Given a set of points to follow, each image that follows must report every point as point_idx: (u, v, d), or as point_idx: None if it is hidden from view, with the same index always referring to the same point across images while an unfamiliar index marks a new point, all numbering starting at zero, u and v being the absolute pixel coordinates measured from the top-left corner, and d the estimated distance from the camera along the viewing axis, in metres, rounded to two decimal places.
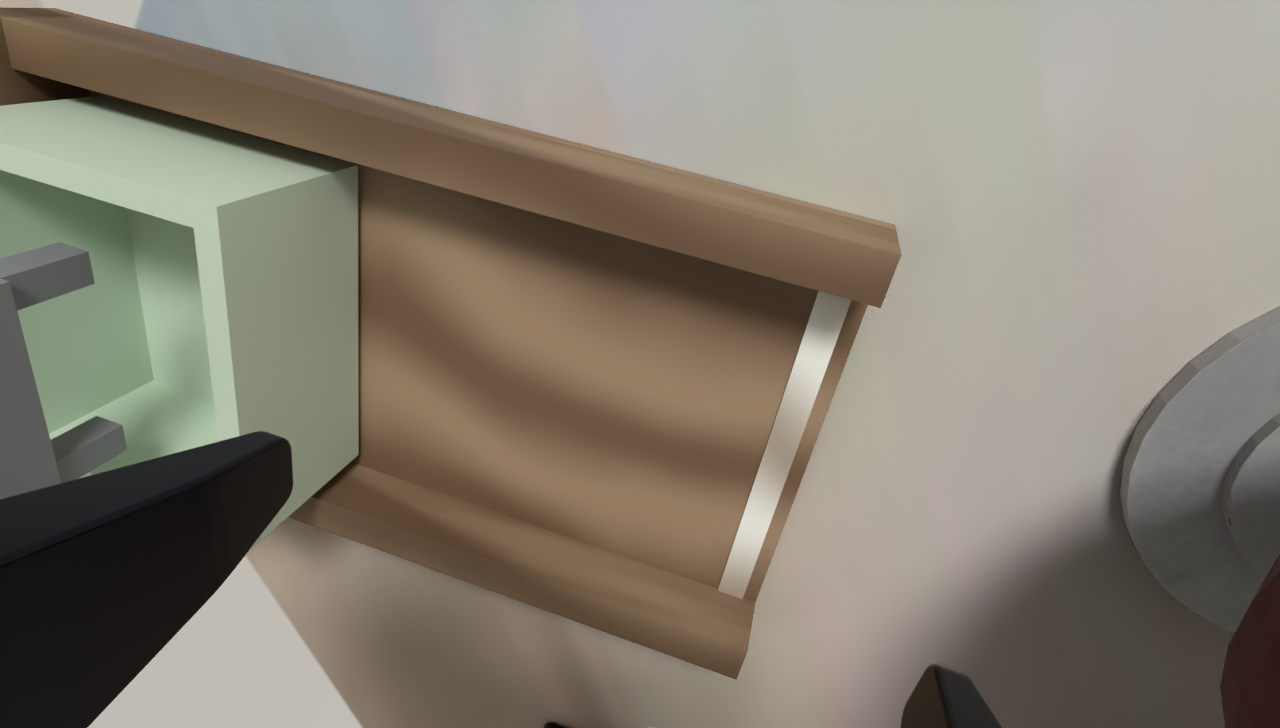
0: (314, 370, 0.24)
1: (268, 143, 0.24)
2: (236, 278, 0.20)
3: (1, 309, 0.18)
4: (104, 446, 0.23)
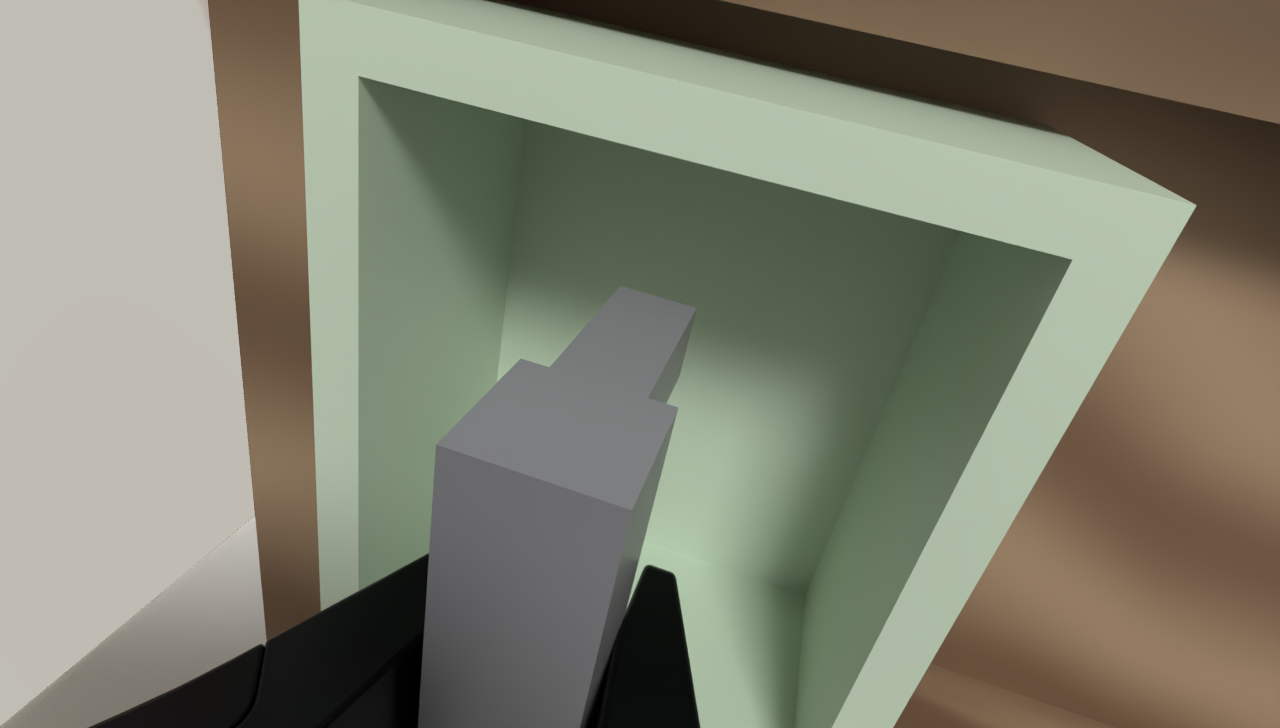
0: None
1: (867, 84, 0.12)
2: None
3: (655, 483, 0.07)
4: None
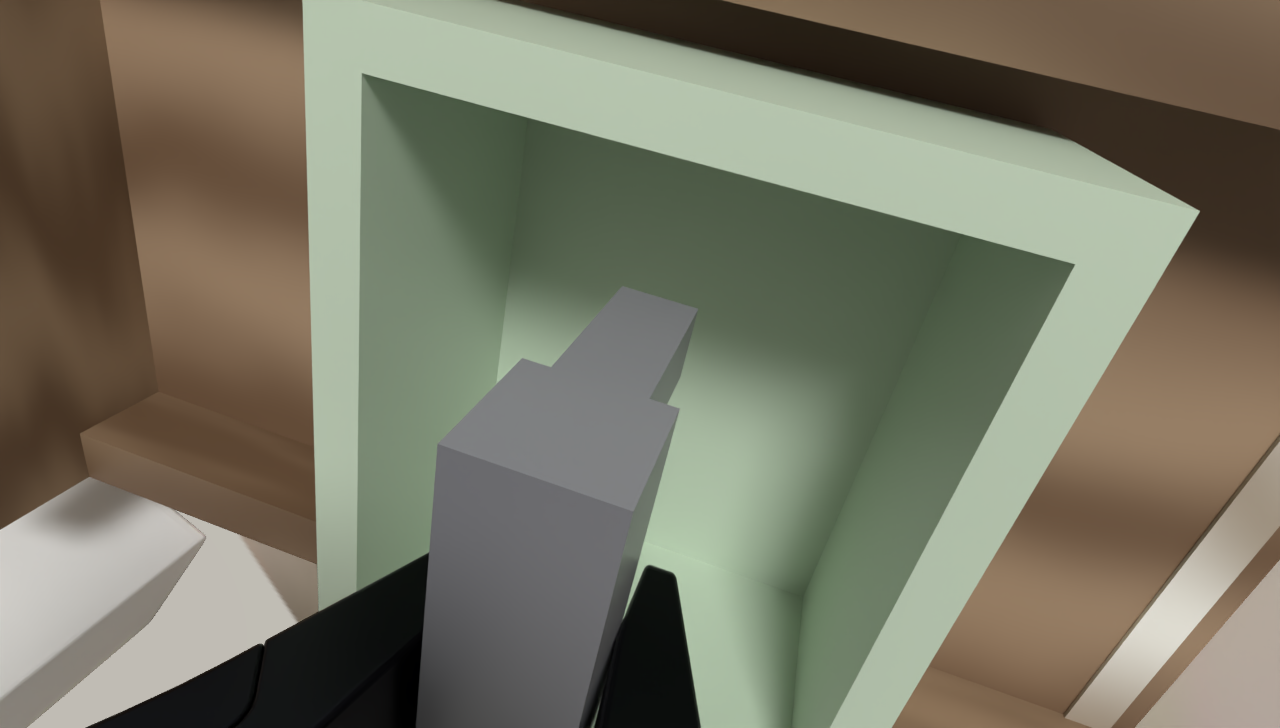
0: None
1: (870, 86, 0.12)
2: None
3: (656, 484, 0.07)
4: None
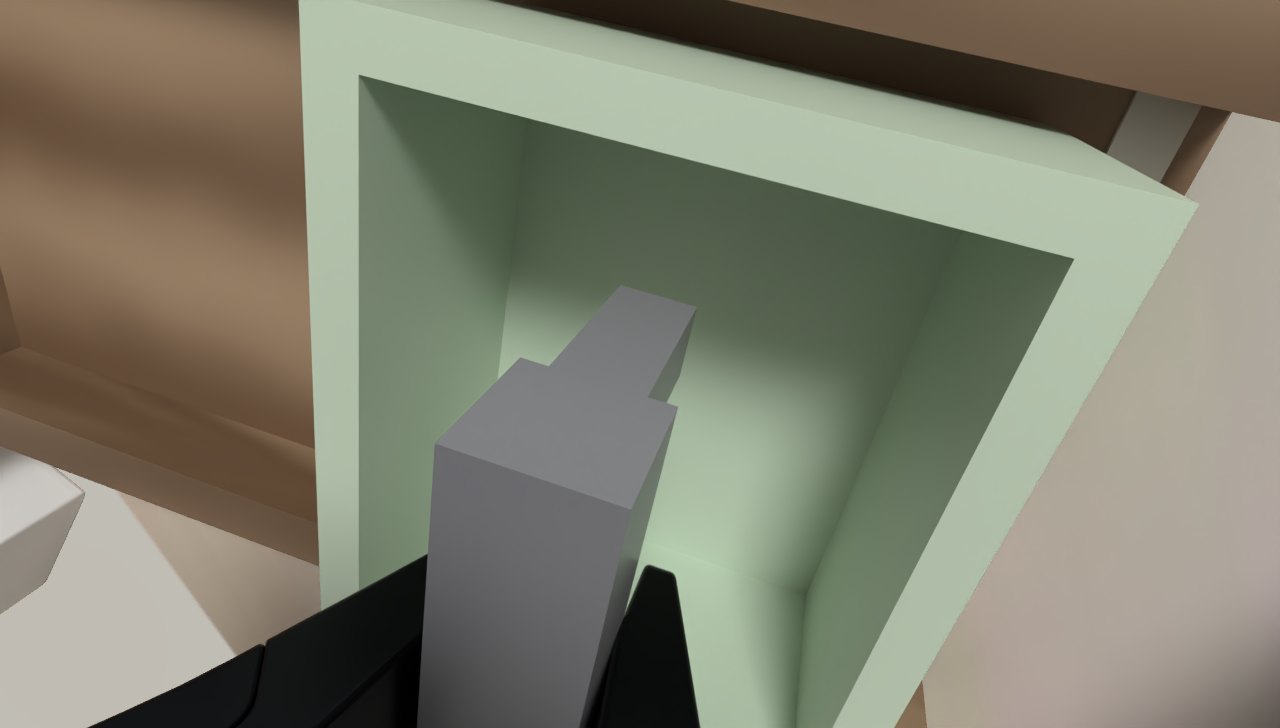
0: None
1: (868, 83, 0.12)
2: None
3: (655, 482, 0.07)
4: None
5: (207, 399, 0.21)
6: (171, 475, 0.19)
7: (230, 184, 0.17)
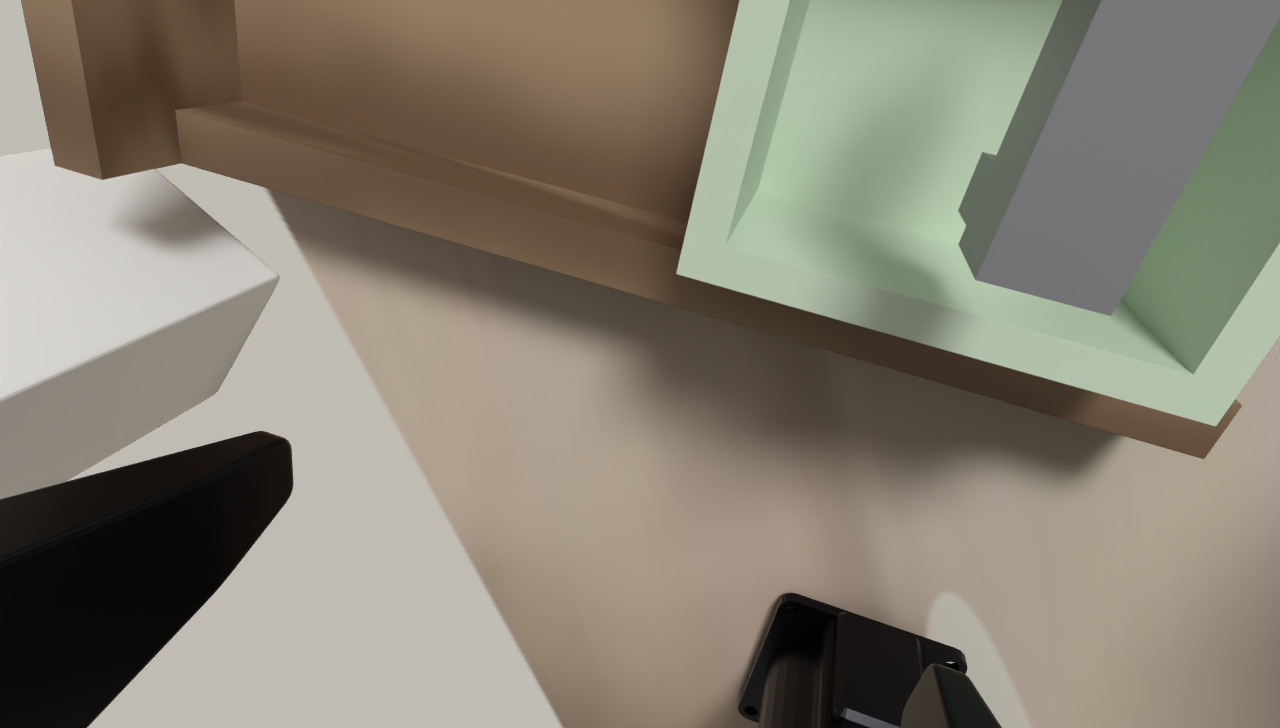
0: None
1: None
2: None
3: None
4: None
5: (442, 139, 0.21)
6: (431, 188, 0.19)
7: None
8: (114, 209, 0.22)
